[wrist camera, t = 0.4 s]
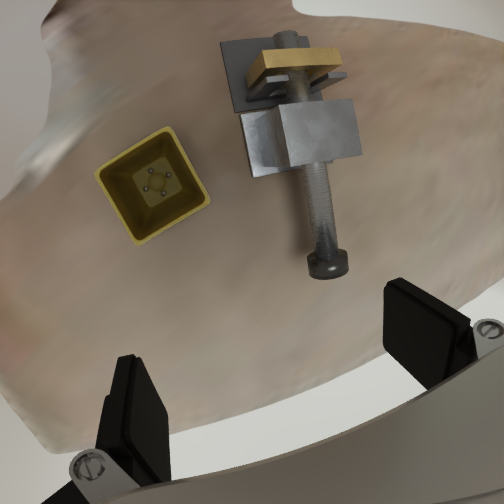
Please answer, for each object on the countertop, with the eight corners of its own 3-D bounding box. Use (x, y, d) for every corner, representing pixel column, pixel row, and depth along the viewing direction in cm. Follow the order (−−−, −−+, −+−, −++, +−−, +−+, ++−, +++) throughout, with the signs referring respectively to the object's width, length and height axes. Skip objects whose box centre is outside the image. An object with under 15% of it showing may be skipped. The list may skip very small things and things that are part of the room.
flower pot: (206, 195, 38) (213, 202, 30) (146, 231, 38) (136, 248, 29) (172, 134, 36) (169, 123, 27) (111, 171, 35) (91, 171, 26)
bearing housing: (239, 115, 37) (260, 96, 26) (319, 105, 38) (361, 89, 28) (252, 177, 39) (277, 180, 29) (329, 162, 41) (375, 162, 30)
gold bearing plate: (244, 73, 33) (262, 50, 26) (308, 68, 35) (338, 47, 27) (248, 88, 34) (266, 68, 26) (311, 82, 35) (342, 64, 27)
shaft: (259, 43, 30) (270, 27, 26) (297, 41, 31) (312, 27, 27) (303, 270, 39) (318, 283, 34) (337, 260, 39) (356, 271, 35)
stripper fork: (244, 99, 36) (266, 76, 26) (308, 91, 38) (346, 72, 28) (245, 103, 36) (267, 82, 27) (309, 95, 38) (347, 77, 28)
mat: (220, 43, 33) (220, 42, 33) (305, 37, 35) (307, 36, 35) (234, 112, 36) (235, 112, 36) (321, 101, 38) (322, 101, 38)
